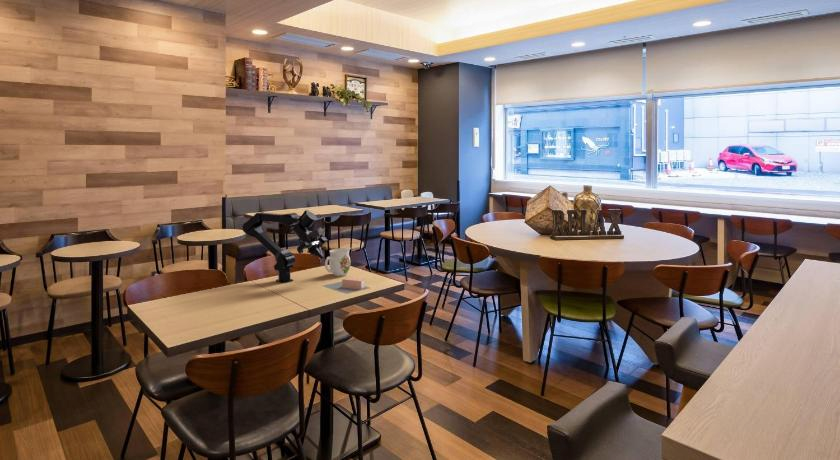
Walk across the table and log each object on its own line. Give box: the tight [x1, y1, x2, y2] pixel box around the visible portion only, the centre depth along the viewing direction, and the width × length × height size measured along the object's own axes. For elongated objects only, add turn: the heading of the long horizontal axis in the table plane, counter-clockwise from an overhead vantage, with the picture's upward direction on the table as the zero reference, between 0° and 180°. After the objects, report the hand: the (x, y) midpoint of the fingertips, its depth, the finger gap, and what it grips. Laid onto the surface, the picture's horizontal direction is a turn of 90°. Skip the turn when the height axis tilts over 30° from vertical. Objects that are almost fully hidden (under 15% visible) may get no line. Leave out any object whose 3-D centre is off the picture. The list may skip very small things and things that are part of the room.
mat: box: [322, 281, 370, 295], centre depth 241 cm, size 20×14×1 cm
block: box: [341, 276, 366, 289], centre depth 240 cm, size 4×4×10 cm
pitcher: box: [324, 246, 352, 277], centre depth 265 cm, size 11×18×14 cm, turn 142°
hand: (323, 257), depth 244 cm, fingers closed
